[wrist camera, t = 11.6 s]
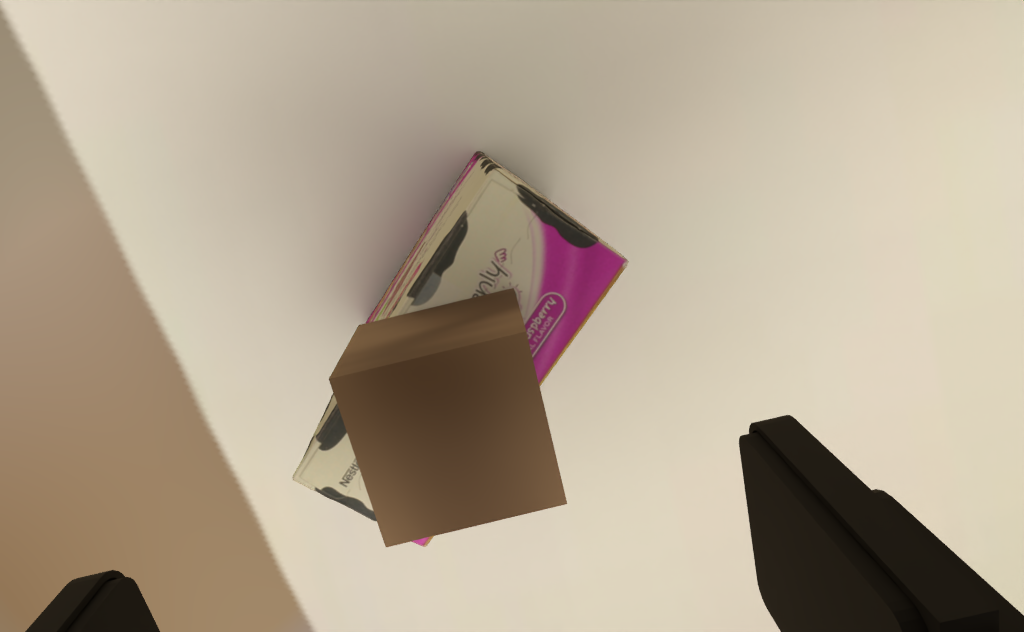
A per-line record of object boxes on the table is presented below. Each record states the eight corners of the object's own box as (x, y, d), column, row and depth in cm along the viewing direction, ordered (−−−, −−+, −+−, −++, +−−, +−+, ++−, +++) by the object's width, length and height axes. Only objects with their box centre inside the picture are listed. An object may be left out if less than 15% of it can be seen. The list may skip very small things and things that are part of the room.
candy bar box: (443, 370, 36) (424, 559, 20) (364, 323, 35) (278, 484, 19) (558, 200, 34) (638, 263, 18) (478, 145, 32) (487, 159, 17)
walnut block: (513, 287, 18) (526, 331, 14) (547, 428, 19) (567, 504, 15) (358, 325, 18) (328, 378, 14) (402, 463, 19) (386, 547, 15)
